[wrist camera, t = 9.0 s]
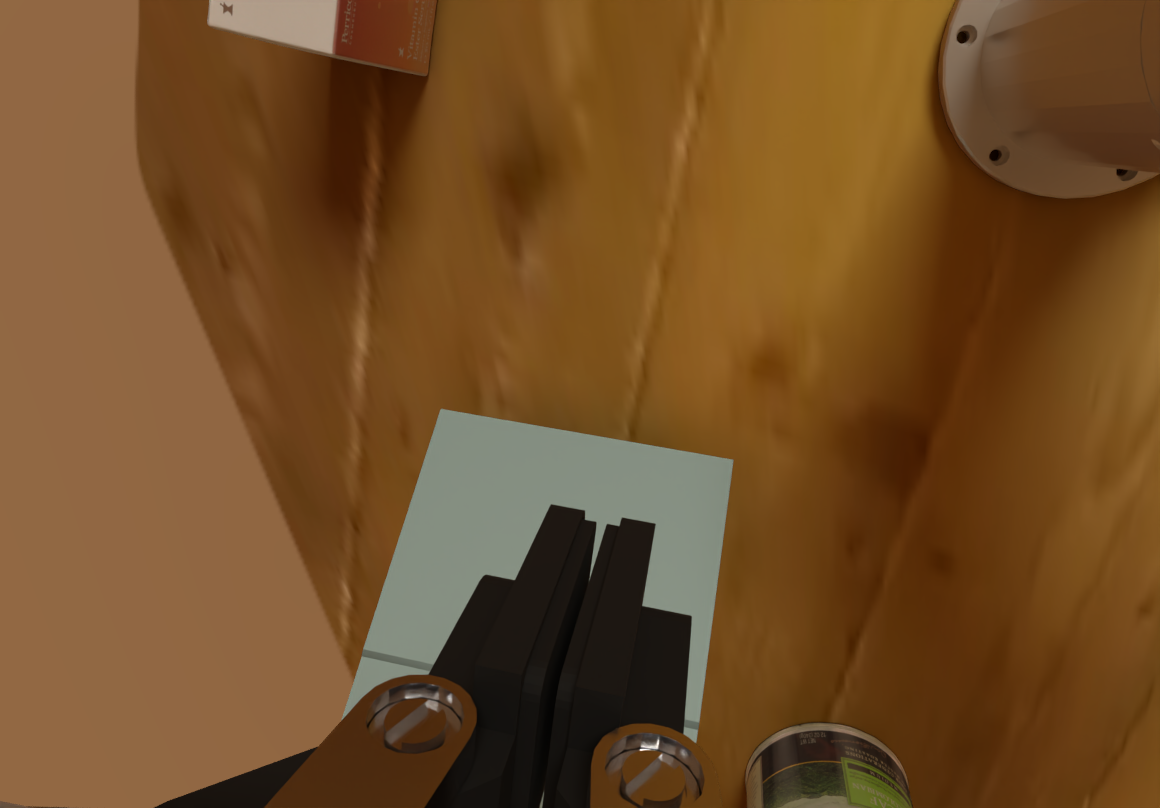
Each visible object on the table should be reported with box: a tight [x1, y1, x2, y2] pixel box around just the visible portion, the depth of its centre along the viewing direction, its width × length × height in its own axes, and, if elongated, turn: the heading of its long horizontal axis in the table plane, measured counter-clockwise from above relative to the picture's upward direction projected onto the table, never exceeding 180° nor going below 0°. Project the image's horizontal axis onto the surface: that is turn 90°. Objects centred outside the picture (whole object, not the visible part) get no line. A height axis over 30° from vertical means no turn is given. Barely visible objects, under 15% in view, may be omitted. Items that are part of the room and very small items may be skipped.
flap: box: [341, 409, 733, 808], centre depth 36 cm, size 16×27×1 cm
